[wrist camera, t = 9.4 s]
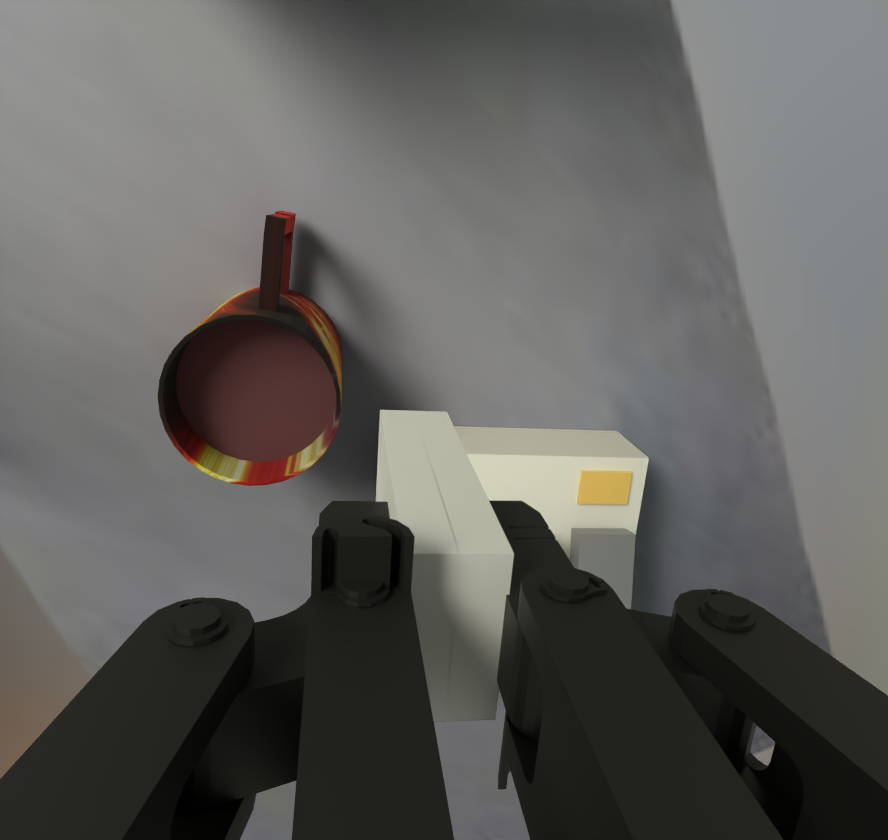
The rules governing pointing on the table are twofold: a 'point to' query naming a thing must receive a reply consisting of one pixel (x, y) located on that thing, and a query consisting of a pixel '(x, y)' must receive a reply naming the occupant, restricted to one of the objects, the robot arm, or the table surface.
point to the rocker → (606, 557)
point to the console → (561, 475)
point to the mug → (256, 378)
